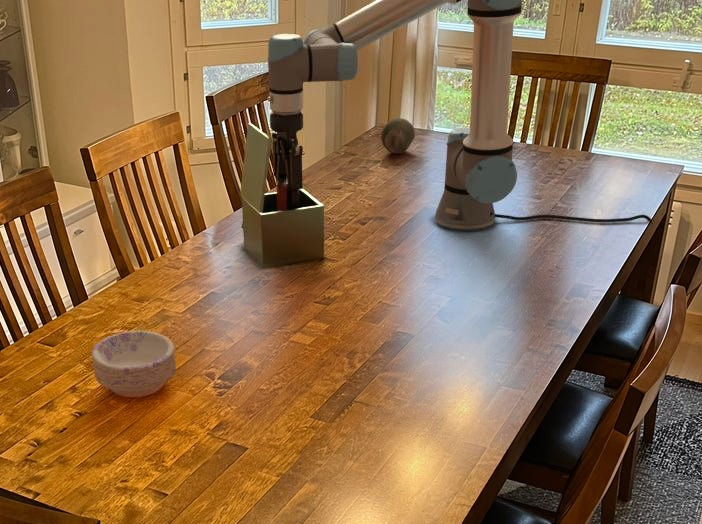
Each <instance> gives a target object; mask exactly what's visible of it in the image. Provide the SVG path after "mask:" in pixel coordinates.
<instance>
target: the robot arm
mask: <svg viewBox="0 0 702 524" xmlns="http://www.w3.org/2000/svg"><path fill="white" fill-rule="evenodd" d="M461 1H463V0H374V1H373V2H371V3H369V4H367V5H366V6H363V7H362V8H360V9H358V10H356V11H354V12H353V13H350V14H349V15H347V16H345V17H343V18H342V19H340V20H338V21H336V22H335V23H333V24H331V25H329V26H327V27H325V28H318V29H312V30H311V31H309V32H308V33H307V34H306V35H305V37H304V40H303V37H302V36H301V35H299V34H296V33H277V34H274V35H273V36H270V38H269V39H268V42H267V43H268V45H267V46H268V51H267V52H268V53H267V67H268V68H267V69H268V91H269V92H268V94H269V96H268V97H266V98H267V101H268V102H269V110H270V113H269V128H270V130H271V131H272V132H271V139H272V168H273V169H272V170H273V171H272V174H273V177H275V181H276V180H277V179H278V178H281V177H287V183H288V188H287V189H285V191H286V197H287V210H291V209H297V208H299V197H298V190H300V189H304V187H303V152H304V151H303V150H304V147H303V145H299V139H298V135H297V133H298V132H299V131H301V130H303V129H304V112H303V109H304V83H317V82H344V81H352V80H354V79H355V78H356V77H357V74H358V67H359V59H358V57H359V55H358V51H360V50H362V49H363V48H365V47H367V46H369V45H372V44H373V43H374V42H376V41H379V40H381V39H382V38H384V37H386V36H388V35H390V34H391V33H393V32H395V31H397V30H399V29H401V28H403V27H404V26H407V25H408V24H410V23H412V22H414V21H416V20H418V19H420V18H422V17H423V16H426V15H427V14H429V13H431V12H433V11H434V10H436V9H438V8H440V7H443V6H444V5H446V4H447V3H449V4H452V5H456V4H458V3H459V2H461ZM522 6H523V0H467V13H466V14H467V16H468V18H469V19H470V20H471V21H472V23H473V34H472V35H473V39H472V61H471V62H472V65H471V66H472V67H471V92H470V114H469V115H470V116H469V117H470V118H469V127H459V128H455V129H452V130H451V131H449V133H448V136H447V142H446V157H445V158H446V159H445V172H444V173H445V175H444V189H443V192H442V195H441V198H440V200H439V203H438V205H437V208H436V210H435V215H434V219H435V220H434V221H435V223H436V224H437V225H438V226H440V227H443V228H445V229H448V230H454V231H460V232H475V231H481V230H485V229H489V228H491V227H492V226H493V225H494V224H495V221H496V218H498V219H507V220H514V221H529V220H536V219H558V220H567V221H579V222H587V223H619V222H620V223H621V222H632V221H635V220H638V219H645V220H646V221H648V222H652V221H653V220H652V218H651V217H650V216H649V215H646V214H637V215H634V216H629V217H622V218H589V217H588V218H587V217H579V216H568V215H559V214H535V215H528V216H514V215H507V214H500V213H496V212H495V208H494V204H496V203H498V202H500V201H502V200H504V199H505V198H506V197H507V196H509V194H511V192H512V191H514V188H515V186H516V184H517V180H518V171H517V167H516V164H515V163H514V161H513V152H514V151H513V150H514V139H513V138H512V137H511V136H510V135H509V134H508V122H509V106H510V88H511V73H512V58H513V57H512V56H513V41H514V23H515V21H516V20H517V19H518V17H520V16H521V14H522V8H523V7H522Z"/></svg>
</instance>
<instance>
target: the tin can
mask: <svg viewBox="0 0 702 524" xmlns="http://www.w3.org/2000/svg"><path fill="white" fill-rule="evenodd" d="M275 185H276V186H275V187H276V192H277V211H284V210H287V197H286V191H285V189H287V188H288V183H287V177H281V178H278V179H277V180H276V179H275ZM298 197H299V190H298Z"/></svg>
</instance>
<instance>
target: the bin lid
mask: <svg viewBox="0 0 702 524" xmlns="http://www.w3.org/2000/svg"><path fill="white" fill-rule="evenodd" d="M245 139H246V141H245V149H244V157H243V166H242V175H241V183H240V192H239V195H240V197H241V198H242V197H243V198H244V199H245V200H246V201H247V202H248V203H249V204H250V205H251V206H252V207H254V208H255V209H256V210H257V211H258V212H259V213H262V212H263V204H264V196H265V194H266V187H267V180H268V173H269V165H270V157H271V148H272V143H273V141H272V137H270V136H269V135H267V134H266V133H265V132H263V131H262V130H261V129H260V128H258V127H257V126H256V125H254V124H253V123H251V122H250V123H248V124H247V131H246V138H245Z"/></svg>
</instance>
